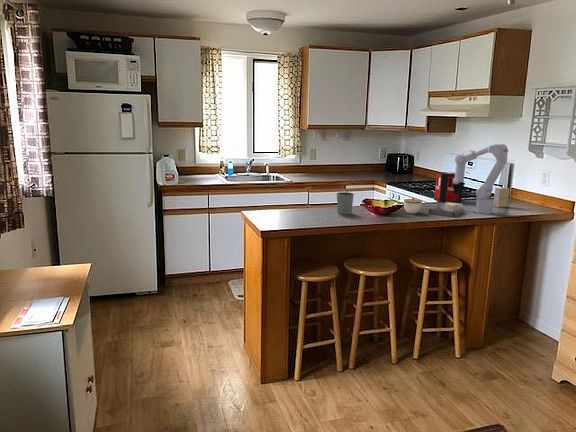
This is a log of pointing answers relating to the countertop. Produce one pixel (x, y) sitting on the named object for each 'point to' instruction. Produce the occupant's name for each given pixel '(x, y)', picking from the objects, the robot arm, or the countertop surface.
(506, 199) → the supplement box
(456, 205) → the t block
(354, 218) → the countertop surface
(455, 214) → the bay
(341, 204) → the grey cup
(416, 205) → the lidded jar
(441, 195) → the cleaning product box
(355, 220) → the countertop surface
